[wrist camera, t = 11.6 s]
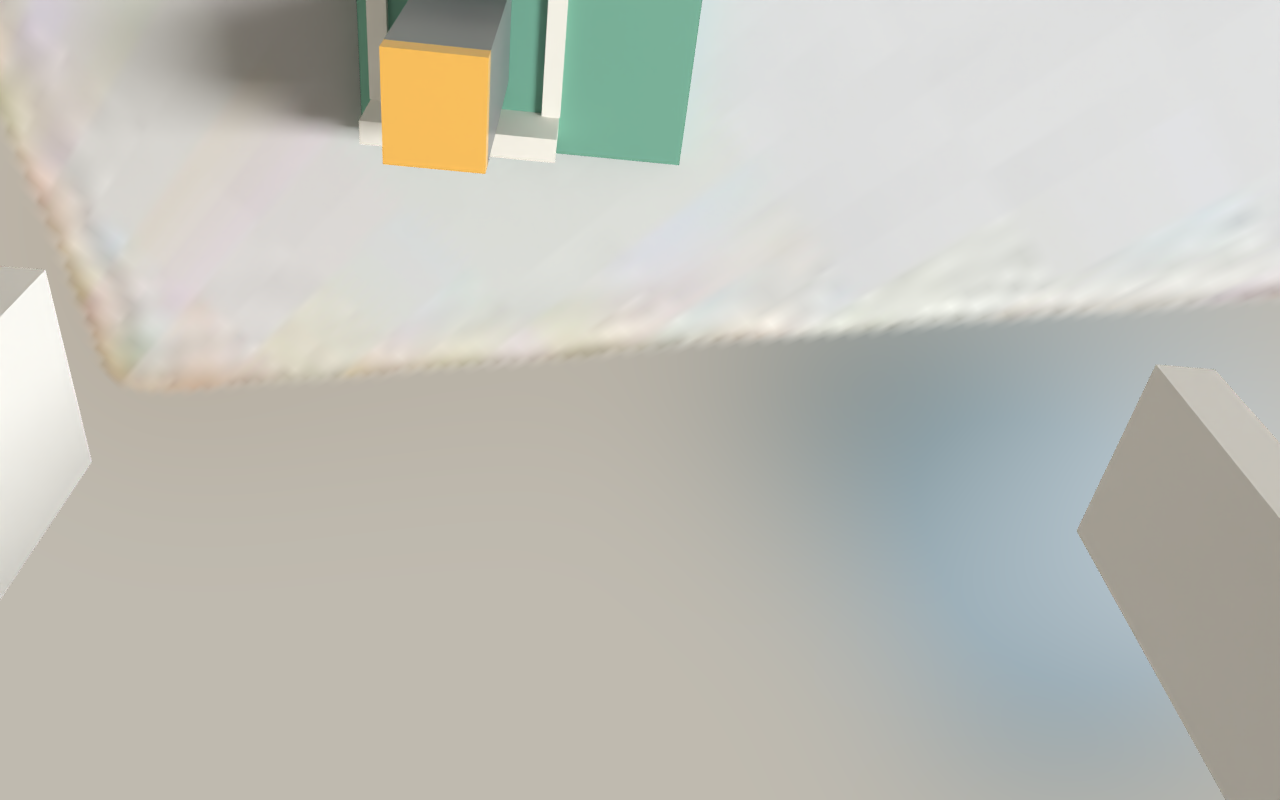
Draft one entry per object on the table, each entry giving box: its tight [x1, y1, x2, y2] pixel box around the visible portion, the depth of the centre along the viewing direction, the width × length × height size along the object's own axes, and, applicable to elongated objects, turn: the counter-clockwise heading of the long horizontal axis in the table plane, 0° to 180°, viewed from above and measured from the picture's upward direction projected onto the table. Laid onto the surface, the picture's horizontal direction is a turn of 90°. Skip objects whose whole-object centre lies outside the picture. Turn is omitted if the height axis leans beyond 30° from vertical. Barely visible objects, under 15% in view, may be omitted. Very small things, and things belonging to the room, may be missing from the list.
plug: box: [379, 0, 512, 174], centre depth 39 cm, size 5×4×10 cm
